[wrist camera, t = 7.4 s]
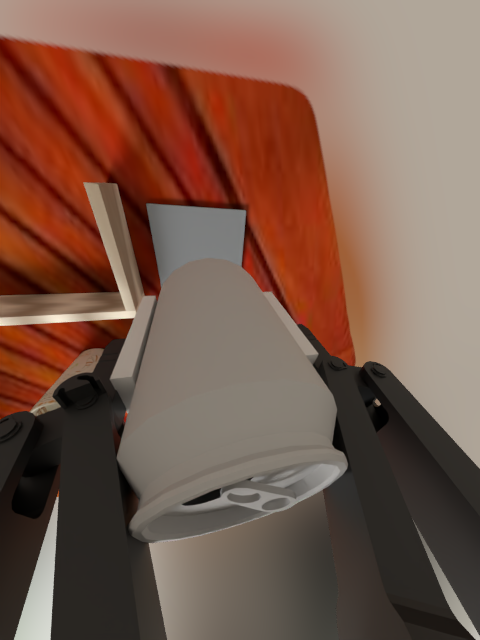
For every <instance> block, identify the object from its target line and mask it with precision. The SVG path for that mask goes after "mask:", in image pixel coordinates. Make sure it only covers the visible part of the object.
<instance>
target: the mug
mask: <svg viewBox="0 0 480 640" xmlns="http://www.w3.org/2000/svg"><path fill="white" fill-rule="evenodd" d="M103 351H104V349H100V348H95V349H89V350H86V351H84V352H83V353H81V354H80V355H79V356H78V357H77V358H76V360H75V361H74V362H73V363H72V364H71V365H70V366H69V367H68V369H67V370H66V371H65V372H64V373H63V374H62V375H61V376H60V378H59V379H58V380H57V381H56V382H55V383H54V384H53V385H52V387H51V388H50V389H49V390H48V391H47V392H46V393H45V394H44V396H43V397H42V398H41V399H40V400H39V401H38V402H37V404H36V405H35V406H34V407H33V408H32V409H31V411H30V412H31V413H33V414H34V415H35V416H38V415H41V414H43V413H46V412H49V411H51V410H54V409H57V408H59V407H61V406H60V405H59V404H58V403H57V401H56V400H55V399H54V398H53V397H52V396H53V393H54V391H55V389H56V388H57V387H58V386H59V385H60V384H61V383H62V382H64V381H65V380H67V379H68V378H70V377H72V376H74V375H77V374H81V373H85V372H87V373H92V372H93V370H94V368H95V367H96V365H97V363H98V361H99V359H100V357H101V356H102V353H103Z"/></svg>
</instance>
